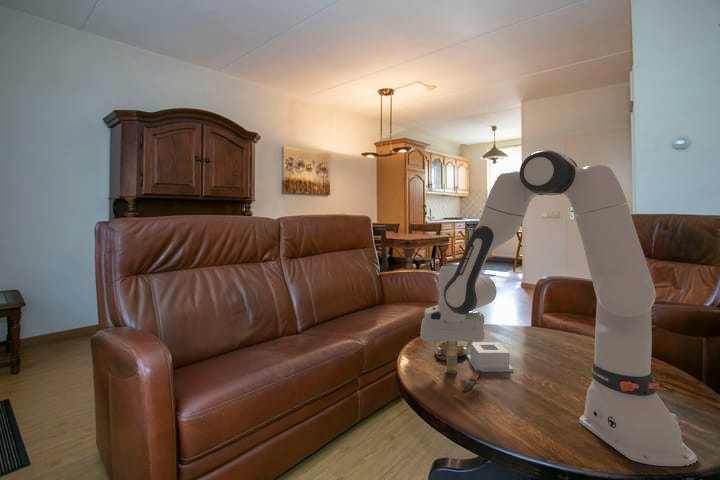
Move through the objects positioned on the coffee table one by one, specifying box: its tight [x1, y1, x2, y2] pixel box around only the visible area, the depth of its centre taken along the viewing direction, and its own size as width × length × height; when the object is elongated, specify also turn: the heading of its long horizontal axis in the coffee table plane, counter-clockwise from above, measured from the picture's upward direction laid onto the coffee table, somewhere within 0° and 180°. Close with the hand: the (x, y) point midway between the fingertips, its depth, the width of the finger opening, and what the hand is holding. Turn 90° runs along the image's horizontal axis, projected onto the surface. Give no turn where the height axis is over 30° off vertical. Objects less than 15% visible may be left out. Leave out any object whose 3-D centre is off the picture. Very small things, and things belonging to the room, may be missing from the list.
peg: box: [446, 341, 458, 375], centre depth 119 cm, size 3×3×12 cm
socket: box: [466, 341, 514, 373], centre depth 125 cm, size 12×12×6 cm
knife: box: [461, 370, 483, 393], centre depth 112 cm, size 17×1×3 cm
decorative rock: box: [434, 341, 465, 362], centre depth 134 cm, size 11×4×15 cm
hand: (451, 353), depth 119 cm, fingers open, 8 cm apart
